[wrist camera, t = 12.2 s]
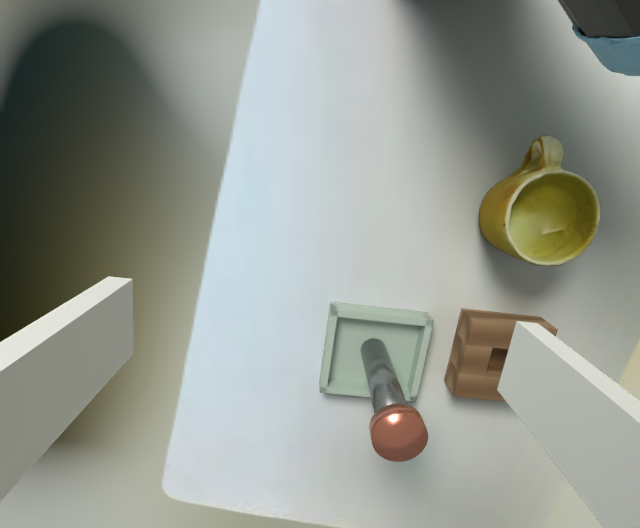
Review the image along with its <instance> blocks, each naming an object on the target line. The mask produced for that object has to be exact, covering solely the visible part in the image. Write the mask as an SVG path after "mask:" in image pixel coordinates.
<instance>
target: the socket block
mask: <svg viewBox="0 0 640 528" xmlns="http://www.w3.org/2000/svg"><path fill="white" fill-rule="evenodd" d="M516 321H522V322H531V323H538V324H540V325H541V326H542V327H544V328H545V329H546V330H547V331H549V332H550V333H551V334H553V335H554V336H556V333H557V330H558V329H556V328H555V327H553V326H552V325H551V324H549V323H548V322H547V321H545V320H544V319H542V318H541V317H535V316H526V315H517V314H507V313H498V312H489V311H480V310H471V309H462V308H461V312H460V317H459V321H458V325H457V329H456V333H455V337H454V342H453V346H452V350H451V354H450V358H449V363H448V367H447V371H446V375H445V379H444V380H445V382H446V384H447V386H448V387H449V389H450V391H451V392H452V394H453V396H455V397H465V398H476V399H486V400H496V401H505V399H504V398H503V397H502V395H501V394H500V393H499V392H498V390H497V388H498V385H499V381H500V378H501V374H502V371H503V367H504V364H505V360H506V357H507V353H508V350H509V346H510V343H511V339H512V336H513V332H514V329H515V325H516Z"/></svg>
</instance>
